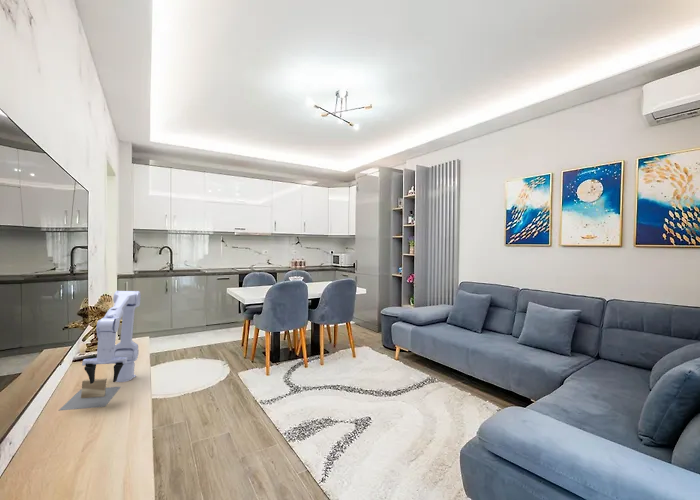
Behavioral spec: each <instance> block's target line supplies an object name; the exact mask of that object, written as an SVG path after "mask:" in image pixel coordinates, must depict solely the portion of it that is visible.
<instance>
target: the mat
mask: <svg viewBox="0 0 700 500" xmlns="http://www.w3.org/2000/svg"><path fill="white" fill-rule="evenodd" d="M120 389H121V386H111V387H106V393H105V396H104V397H90V398H81V392H82V388H81V389H80V390H78V391H77V392H76V393H75V394H74V395H73V396H72V397H71V398H70V399H68V401H67V402H66V403H65V404H63V406H61V407H60V408H59V409H58V411H70V410H81V409H94V408H105V407H107V405H108V403H110V401H111V400H112V399H113V397H114V396H115V395H116V394H117V392H118V391H119V390H120Z"/></svg>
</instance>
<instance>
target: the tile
mask: <svg viewBox="0 0 700 500" xmlns="http://www.w3.org/2000/svg"><path fill="white" fill-rule="evenodd" d="M106 388H107V378H95V380H94V382H93V383H92V384H90V379H89V378H88V379H83V380H82V381H81V389H82V392H81V398H90V397H104V396H105V393H106Z"/></svg>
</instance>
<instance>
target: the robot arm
mask: <svg viewBox="0 0 700 500" xmlns="http://www.w3.org/2000/svg"><path fill="white" fill-rule="evenodd" d="M141 295H142V294H141V291H140V290H115V292H114V293H113V297H112V299H113V301H112V302H113V303H114V304H113V306H111V307H110V308H108V310H107V311H106V312H105V315H104V316H103V317H102V318H101V319H98V320H97V322H96V323H97V324H96V327H95V328H96V338H97V349H96V357H93V358H84V359H83V360H82V362H81V363H82V365H81V366H84V371H85V372H86V373H87V376H88V380H89V379H90V384H92V383H93V382H94V380H95V379H96V367H97V365H110V364H111V365H112V364H114V365H113V378H112V381H113V382H112V383H124V382H125V383H126V382H129V381H132V379H133V378H136V376H137V374H135V365H136V364H135V362H136V361H137V359H138V358H139V357H138V356H139V344H138V343H136V342H135V341H134V340H133V333H134V323H135V321H134V320H135V311H136V308H139V307H140V305H141V298H142V297H141ZM120 321H121V322H120ZM120 324H121V331H120V333H121V334H120V341H119V342H117V344H116V341H117V339H116V338H117V332H118V331H119V328H120Z"/></svg>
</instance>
